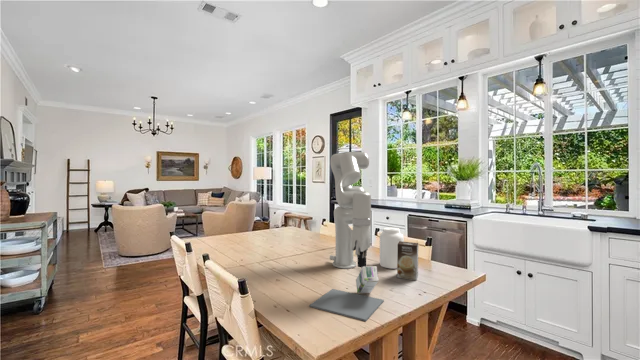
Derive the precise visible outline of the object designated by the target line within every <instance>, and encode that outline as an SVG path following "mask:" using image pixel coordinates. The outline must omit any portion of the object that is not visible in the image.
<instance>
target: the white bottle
mask: <svg viewBox="0 0 640 360" xmlns="http://www.w3.org/2000/svg"><path fill="white" fill-rule="evenodd" d="M399 241H402V242H405V237H404V234H403V233H401V230H400V228H399V227H389V226H387V227H384V228H383V231H382V232H381V233H380V234H379V265H380V267H383V268H385V269H389V270H390V269H392V270H393V269H396V270H397V254H398V243H399Z"/></svg>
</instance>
